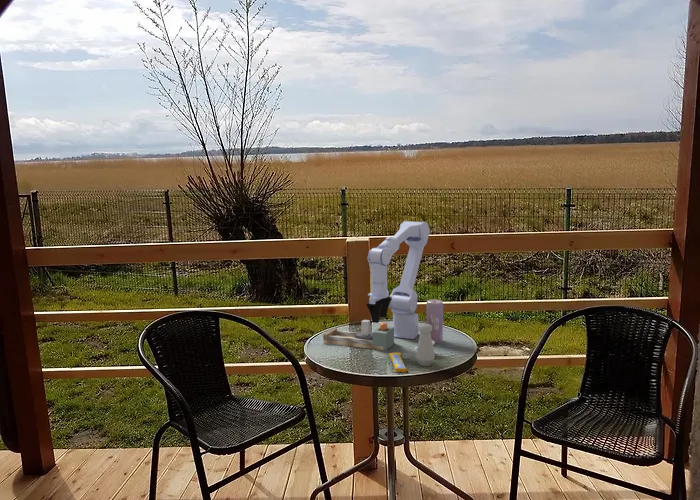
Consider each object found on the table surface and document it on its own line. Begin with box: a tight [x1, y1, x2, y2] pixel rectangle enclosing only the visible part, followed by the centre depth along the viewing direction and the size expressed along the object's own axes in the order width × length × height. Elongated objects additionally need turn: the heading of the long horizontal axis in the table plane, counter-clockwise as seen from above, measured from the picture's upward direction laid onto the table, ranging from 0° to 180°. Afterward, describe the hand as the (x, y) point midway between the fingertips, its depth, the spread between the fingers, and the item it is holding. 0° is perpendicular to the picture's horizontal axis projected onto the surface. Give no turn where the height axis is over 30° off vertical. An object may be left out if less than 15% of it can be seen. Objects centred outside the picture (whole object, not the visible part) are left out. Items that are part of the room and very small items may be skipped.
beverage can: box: [425, 298, 444, 344], centre depth 190 cm, size 6×6×15 cm
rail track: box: [322, 327, 384, 351], centre depth 189 cm, size 23×9×3 cm, turn 68°
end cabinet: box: [372, 325, 395, 351], centre depth 185 cm, size 5×9×6 cm, turn 157°
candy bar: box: [388, 352, 409, 373], centre depth 167 cm, size 17×4×2 cm, turn 3°
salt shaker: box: [415, 323, 435, 367], centre depth 166 cm, size 6×6×13 cm
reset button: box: [379, 322, 388, 331], centre depth 185 cm, size 3×3×2 cm
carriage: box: [355, 319, 373, 340], centre depth 188 cm, size 6×5×7 cm
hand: (379, 319), depth 185 cm, fingers open, 7 cm apart
